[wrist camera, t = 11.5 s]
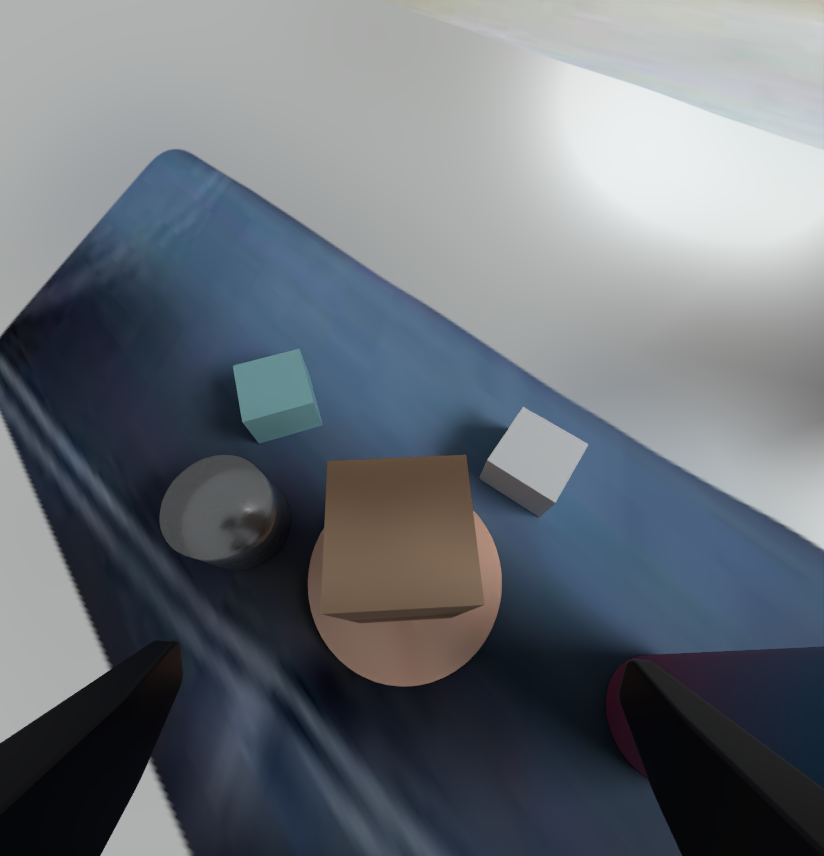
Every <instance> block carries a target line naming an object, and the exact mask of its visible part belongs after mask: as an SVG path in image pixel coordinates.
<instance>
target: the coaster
mask: <svg viewBox="0 0 824 856" xmlns="http://www.w3.org/2000/svg"><path fill="white" fill-rule="evenodd" d="M473 515H474V523H475V531H476V539H477V547H478V556H479V564H480V572H481V580H482V589H483V597H484V605H483V606H481V607H478V608H475V609H473V610H470V611H468V612H465V613H463V614H460V615H458V616H455V617H453V618H445V619H427V620H410V621H392V622H374V623H357V622H352V621H348V620H344V619H339V618H335V617H331V616H326V615H322V614H320V611H321V590H322V568H323V546H324V529H323V530H322V532H321V534H320V536H319V538H318V540H317V542H316V544H315V547H314V550H313V553H312V556H311V561H310V566H309V573H308V597H309V603H310V608H311V613H312V616H313V619H314V622H315V625H316V627H317V629H318V631H319V633H320V635H321V637H322V639H323V640H324V642H325V643H326V645H327V646H328V648H329V649H330V650H331V651H332V653H333V654H334V655H335V656H336V657H337V658H338V659H339V660H340V661H341V662H342V663H343V664H345V665H346V666H347V667H348V668H349V669H351V670H352V671H354V672H356V673H357V674H359V675H360V676H362V677H365V678H367V679H369V680H372V681H374V682H378V683H381V684H385V685H391V686H401V687H404V686H418V685H423V684H427V683H431V682H434V681H436V680H439V679H442V678H444V677H446V676H448V675H449V674H451V673H453V672H455V671H456V670H458V669H459V668H460V667H462V666H463V665H464V664H466V663H467V662H468V661H469V660H470V659H471V658H472V657H473V656H474V655H475V654H476V653H477V651H478V650H479V649H480V647H481V646H482V645H483V643H484V642H485V640H486V639H487V637H488V635H489V633H490V631H491V629H492V627H493V625H494V622H495V619H496V617H497V614H498V609H499V605H500V600H501V592H502V574H501V566H500V560H499V557H498V553H497V549H496V547H495V544H494V542H493V539H492V537H491V535H490V533H489V531H488V529H487V528H486V526H485V525H484V523H483V522H482V520H481V519H480V518H479V516H478V515H477V514H476V513H475V512H474V511H473Z"/></svg>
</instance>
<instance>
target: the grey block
mask: <svg viewBox="0 0 824 856" xmlns="http://www.w3.org/2000/svg"><path fill="white" fill-rule="evenodd" d="M588 445H589V444H587V443H585V442H584V441H582V440H580V439H578V438H577V437H575V436H573V435H571V434H570V433H568V432H566V431H564V430H563V429H561V428H559V427H557V426H556V425H554V424H552V423H550V422H549V421H547V420H545V419H543V418H542V417H540V416H538V415H536V414H535V413H533V412H531V411H529V410H528V409H526V408H524V407H523V408H522V410H521V411H520V412H519V414H518V415H517V417H516V418H515V420H514V421H513V423H512V424H511V426H510V427H509V429H508V430H507V432H506V433H505V434H504V436H503V437H502V439H501V440H500V442H499V443H498V445H497V446H496V448H495V449H494V451H493V452H492V454H491V455H490V456H489V458H488V459H487V461H486V464H485V466H484V468H483V470H482V473H481V475H480V477H479V479H480V480H482V481H484V482H485V483H487V484H488V485H490V486H491V487H493V488H494V489H496V490H498V491H499V492H501V493H502V494H504V495H505V496H507V497H508V498H510V499H511V500H513V501H515V502H516V503H518V504H519V505H521V506H522V507H524V508H525V509H527V510H529V511H530V512H532V513H533V514H535V515H536V516H538V517H540V516H541V515H543V514H544V513H545V512H546V511H547V510H548V509H549V508H550V507H551V506H552V505H554V504H555V503H556V501H557V499H558V497H559V496H560V494H561V492H562V490H563V489H564V487H565V485H566V483H567V482H568V480H569V478H570V476H571V474H572V473H573V471H574V469H575V467H576V466H577V464H578V462H579V460H580V459H581V457H582V455H583V453H584V452H585V450H586V448H587V446H588Z"/></svg>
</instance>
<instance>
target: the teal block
mask: <svg viewBox="0 0 824 856" xmlns="http://www.w3.org/2000/svg"><path fill="white" fill-rule="evenodd" d="M233 370H234V376H235V382H236V388H237V394H238V400H239V406H240V411H241V417H242V422H243V424H244V425H245V426H246V428H247V429H248V430H249V431H250V433H251V434H252V435H253V436H254V438H255V439H256V440H257V442H258V443H263V442H266V441H270V440H273V439H277V438H280V437H284V436H287V435H291V434H294V433H298V432H301V431H305V430H308V429H312V428H315V427H319V426H322V425H323V424H322V421H321V417H320V413H319V409H318V406H317V402H316V398H315V394H314V391H313V387H312V383H311V379H310V376H309V373H308V370H307V368H306V365H305V362H304V360H303V357H302V355H301V352H300V349H296V350H293V351H289V352H285V353H281V354H277V355H273V356H269V357H265V358H261V359H257V360H253V361H249V362H245V363H241V364H237V365H234V366H233Z"/></svg>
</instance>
